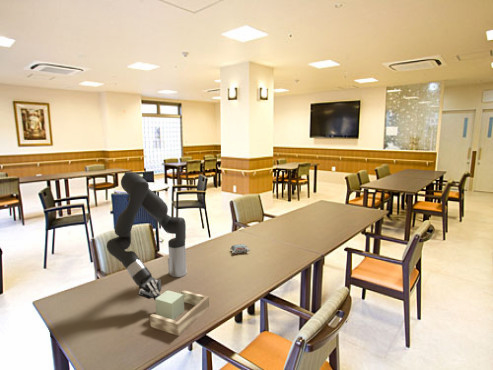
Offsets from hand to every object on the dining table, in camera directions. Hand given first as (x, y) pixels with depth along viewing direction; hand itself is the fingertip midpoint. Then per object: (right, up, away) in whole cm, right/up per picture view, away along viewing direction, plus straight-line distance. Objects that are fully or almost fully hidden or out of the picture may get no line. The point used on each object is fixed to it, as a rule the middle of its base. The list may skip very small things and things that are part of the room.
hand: (161, 302), depth 132 cm
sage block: (+5, -4, -2) cm, 6 cm away
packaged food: (+34, +7, +66) cm, 74 cm away
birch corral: (+10, -4, -4) cm, 12 cm away
